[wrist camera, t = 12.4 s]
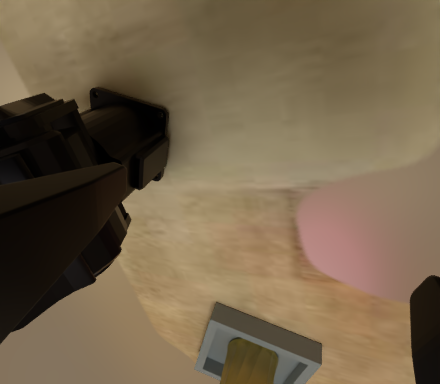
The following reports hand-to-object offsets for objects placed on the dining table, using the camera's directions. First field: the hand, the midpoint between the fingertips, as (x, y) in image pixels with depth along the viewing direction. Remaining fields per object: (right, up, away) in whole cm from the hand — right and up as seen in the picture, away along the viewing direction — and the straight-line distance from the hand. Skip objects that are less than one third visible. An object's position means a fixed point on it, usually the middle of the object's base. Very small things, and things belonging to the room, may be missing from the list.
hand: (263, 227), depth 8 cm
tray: (+3, -18, +26) cm, 32 cm away
